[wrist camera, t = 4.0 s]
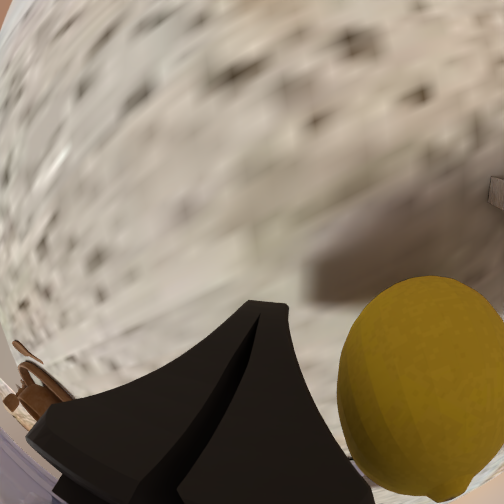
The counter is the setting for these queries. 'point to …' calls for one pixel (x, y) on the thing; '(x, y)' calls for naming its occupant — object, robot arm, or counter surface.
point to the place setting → (34, 389)
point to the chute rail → (496, 193)
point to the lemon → (423, 387)
